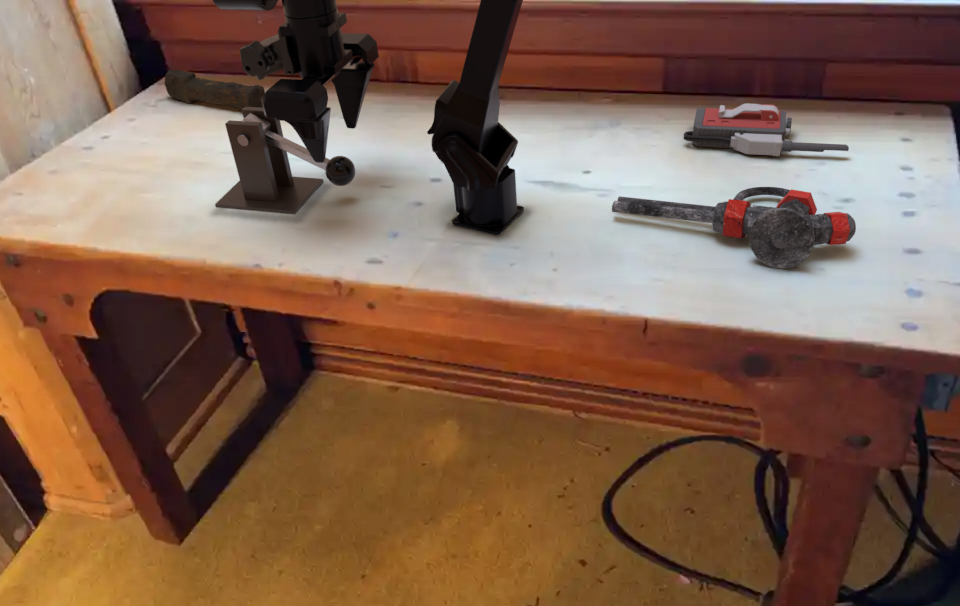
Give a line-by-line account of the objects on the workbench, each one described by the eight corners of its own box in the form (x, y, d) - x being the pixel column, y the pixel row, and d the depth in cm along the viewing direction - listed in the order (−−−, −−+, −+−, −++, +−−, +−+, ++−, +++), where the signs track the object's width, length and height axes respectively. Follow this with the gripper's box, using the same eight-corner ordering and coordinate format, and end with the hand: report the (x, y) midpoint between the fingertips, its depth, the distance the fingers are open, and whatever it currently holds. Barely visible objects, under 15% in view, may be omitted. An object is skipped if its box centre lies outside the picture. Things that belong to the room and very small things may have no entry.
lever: (356, 182, 111) (363, 158, 109) (344, 196, 109) (351, 172, 106) (249, 130, 111) (253, 106, 109) (235, 143, 109) (239, 118, 106)
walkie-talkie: (680, 154, 116) (847, 162, 111) (683, 122, 113) (853, 129, 108) (687, 125, 122) (844, 132, 117) (689, 94, 119) (850, 99, 114)
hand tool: (270, 106, 139) (263, 77, 136) (253, 116, 136) (246, 87, 133) (181, 91, 147) (173, 63, 144) (164, 100, 145) (155, 72, 142)
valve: (862, 226, 102) (843, 279, 91) (640, 201, 113) (599, 245, 101) (871, 172, 99) (853, 219, 88) (642, 151, 110) (600, 191, 98)
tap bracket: (324, 187, 116) (308, 103, 109) (295, 220, 110) (276, 133, 103) (249, 181, 119) (228, 99, 112) (217, 212, 113) (192, 128, 106)
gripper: (283, -17, 106) (308, 109, 116) (201, 38, 92) (237, 176, 102) (370, -17, 103) (389, 113, 113) (298, 41, 89) (326, 183, 99)
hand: (336, 144), depth 107 cm, fingers open, 9 cm apart
